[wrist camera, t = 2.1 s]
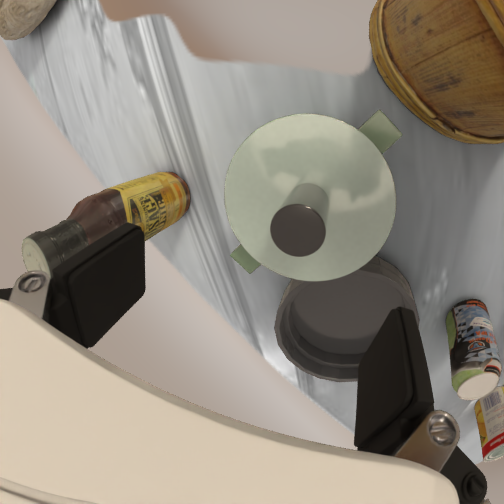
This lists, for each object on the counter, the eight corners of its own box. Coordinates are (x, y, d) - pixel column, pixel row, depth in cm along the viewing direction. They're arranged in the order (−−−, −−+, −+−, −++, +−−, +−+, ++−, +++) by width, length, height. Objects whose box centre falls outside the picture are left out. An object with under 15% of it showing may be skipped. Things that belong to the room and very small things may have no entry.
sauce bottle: (188, 226, 34) (67, 324, 17) (147, 209, 35) (22, 286, 18) (199, 175, 31) (55, 249, 14) (154, 160, 32) (9, 216, 15)
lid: (425, 207, 18) (455, 242, 12) (308, 300, 24) (295, 354, 19) (305, 79, 17) (289, 59, 11) (200, 198, 23) (154, 226, 17)
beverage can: (490, 307, 27) (522, 373, 16) (452, 343, 30) (470, 412, 20) (467, 283, 27) (503, 351, 16) (427, 323, 30) (445, 397, 20)
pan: (433, 315, 30) (441, 338, 26) (337, 372, 38) (334, 396, 34) (357, 220, 28) (360, 236, 24) (256, 302, 36) (246, 324, 32)
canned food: (480, 416, 34) (488, 464, 24) (469, 403, 34) (478, 458, 23) (512, 395, 30) (525, 443, 20) (504, 380, 30) (519, 434, 19)
